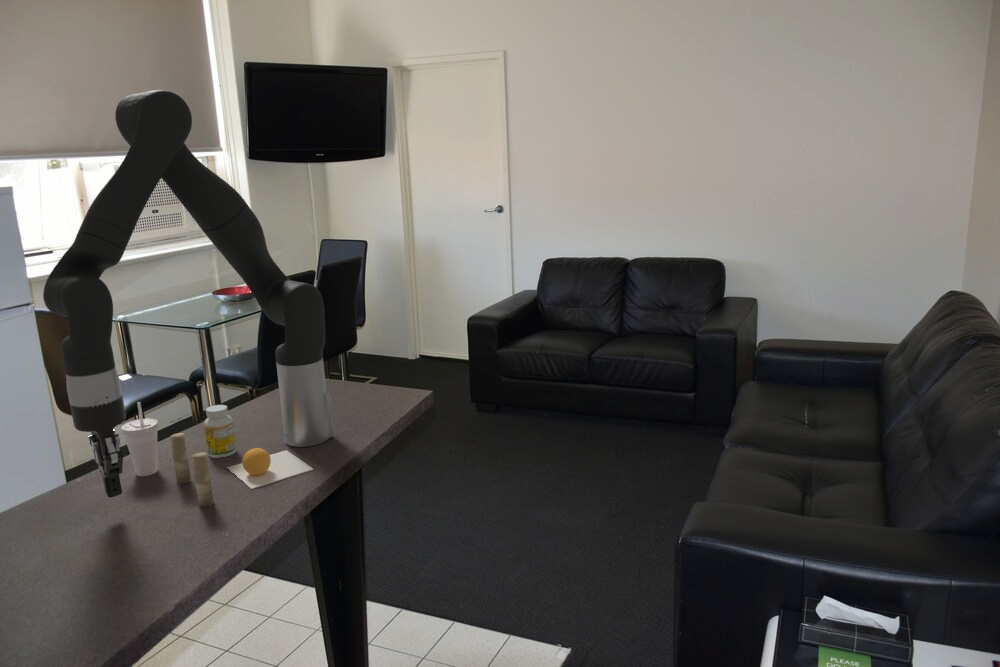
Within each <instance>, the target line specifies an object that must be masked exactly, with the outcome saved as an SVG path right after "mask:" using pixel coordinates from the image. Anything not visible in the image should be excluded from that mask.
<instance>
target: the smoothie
mask: <svg viewBox="0 0 1000 667" xmlns="http://www.w3.org/2000/svg"><path fill="white" fill-rule="evenodd" d="M136 404H137V410H138V416H139V417H138V418H139V419H134V420H131V421H128V422H126V423H124V424H123V425H122V426H121V428H120V429H121V434H122V435H123V436H124V439H125V443H126V445H127V448H128V452H129V455H130V458H131V461H132V464H133V467H134V471H135V474H136V475H137V476H138V477H148V476H151V475H154V474H156V473H157V472H158V470H159V468H158V466H159V465H158V461H159V460H158V453H159V452H158V429H159V427H160V426H159V421H158V420H157V419H155V418H143V417H144V416H143V410H142V404H141V401H139V402H138V401H137V403H136Z"/></svg>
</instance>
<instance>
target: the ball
mask: <svg viewBox="0 0 1000 667" xmlns="http://www.w3.org/2000/svg"><path fill="white" fill-rule="evenodd" d="M270 455H271V454H269V452H268V451H267V450H265V449H263V448H261V447H256V448H255V447H254V448H251V449H249V450H248V451H246V453H245V454H244V456H243V458H242V463H243V467H244V469H245V470H246V472H248V473H249V474H251V475H260V474H263V473H264V472H266V471H267V470H268V468H269V466H270V463H271V458H270Z"/></svg>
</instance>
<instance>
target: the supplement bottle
mask: <svg viewBox="0 0 1000 667" xmlns="http://www.w3.org/2000/svg"><path fill="white" fill-rule="evenodd" d="M228 409H229V408H228V406H227V405H224V404H216V405H212V406H208V407H206V409H205V414H206V417H207V418H206V419H205V420H204V423H203V427H204V432H205V434H204V435H205V441H206V448H207V450H206V451H207V456H209V457H210V458H212V459H213V458H214V459H222V458H221V457H223V458H227V456H228V457H230V456H232V455H234V454H235V453H236V451H237V445H236V437H235V428H234V422H233V417H232V416H230V415H229V410H228Z"/></svg>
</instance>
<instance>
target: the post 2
mask: <svg viewBox="0 0 1000 667" xmlns="http://www.w3.org/2000/svg"><path fill="white" fill-rule="evenodd" d="M191 460H192V467H193V473H194V479H195V481H194V482H195V488H196V494H197V501H198V506H199V507H201V508H208V507H209V506H212V505H214V503H215V502H214V496H213V494H214V493H213V489H212V488H213V487H212V481H211V472H210V466H209V458H208V452H205V451H204V452H203V451H202V452H201V451H200V452H196V453H194V454H192V455H191Z"/></svg>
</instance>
